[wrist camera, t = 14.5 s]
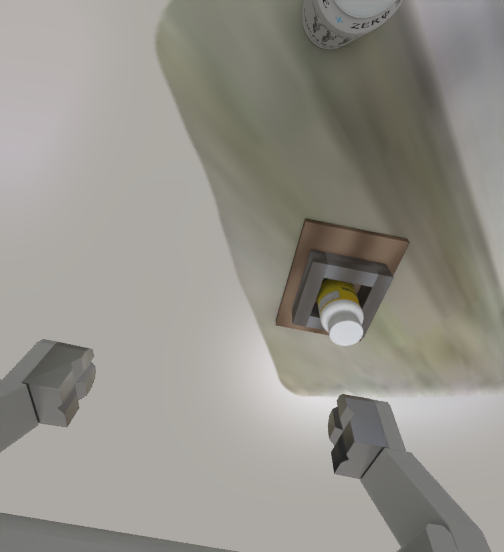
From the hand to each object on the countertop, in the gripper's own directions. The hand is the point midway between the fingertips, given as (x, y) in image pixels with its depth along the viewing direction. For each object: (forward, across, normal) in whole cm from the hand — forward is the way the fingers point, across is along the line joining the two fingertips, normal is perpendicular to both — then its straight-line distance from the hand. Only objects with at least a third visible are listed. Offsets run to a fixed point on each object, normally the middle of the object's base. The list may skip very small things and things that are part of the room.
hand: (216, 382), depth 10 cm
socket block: (+33, -14, +15) cm, 39 cm away
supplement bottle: (+32, -14, +15) cm, 38 cm away
